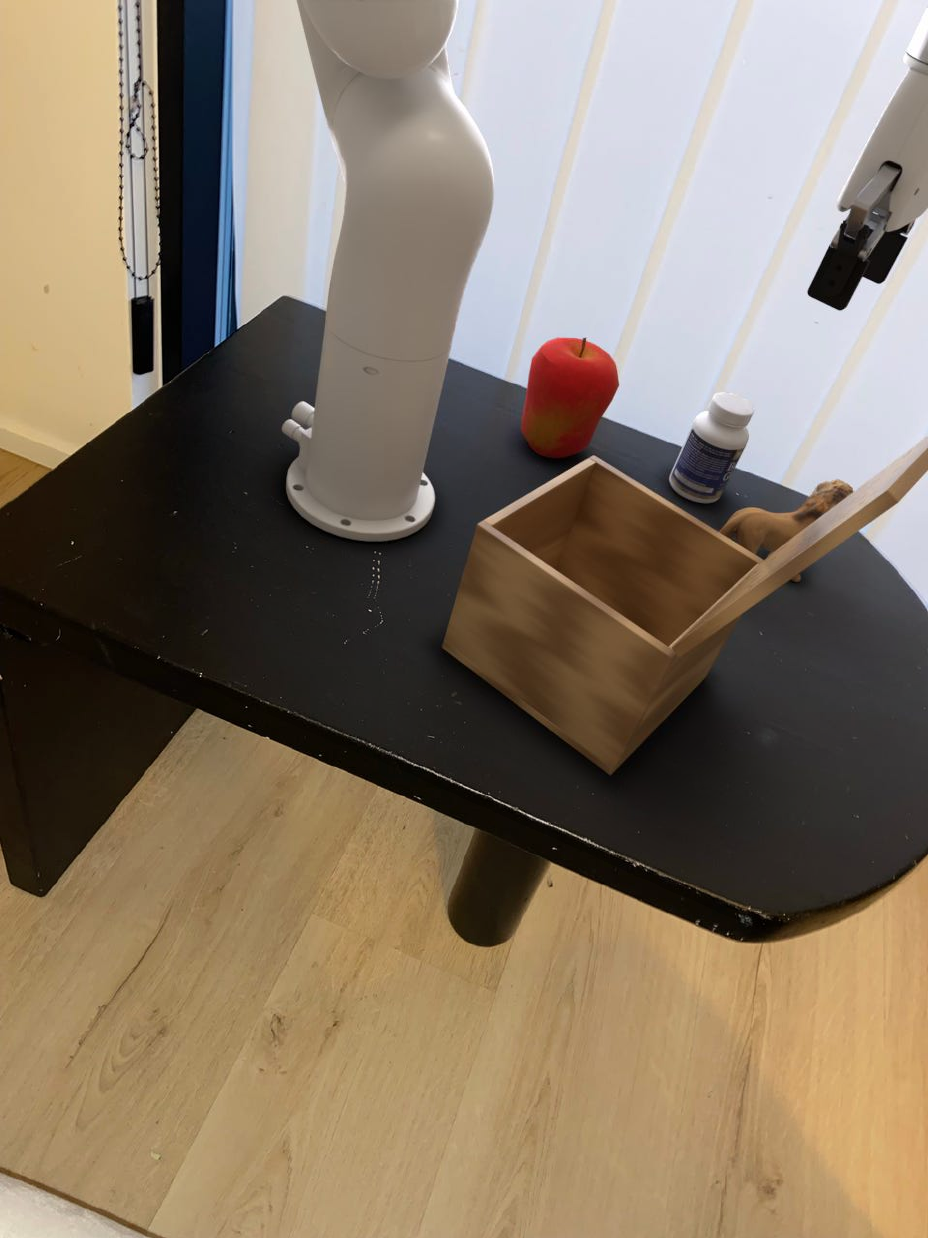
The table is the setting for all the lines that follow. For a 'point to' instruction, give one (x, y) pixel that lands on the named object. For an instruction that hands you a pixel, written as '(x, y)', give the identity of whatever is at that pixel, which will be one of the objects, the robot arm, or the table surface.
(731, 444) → the pill bottle
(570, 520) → the case box
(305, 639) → the table surface
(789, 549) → the cover
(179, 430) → the table surface
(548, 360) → the apple
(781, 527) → the lion figurine
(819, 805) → the table surface
